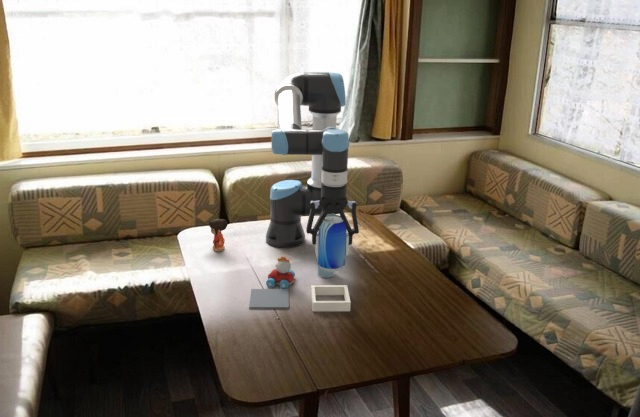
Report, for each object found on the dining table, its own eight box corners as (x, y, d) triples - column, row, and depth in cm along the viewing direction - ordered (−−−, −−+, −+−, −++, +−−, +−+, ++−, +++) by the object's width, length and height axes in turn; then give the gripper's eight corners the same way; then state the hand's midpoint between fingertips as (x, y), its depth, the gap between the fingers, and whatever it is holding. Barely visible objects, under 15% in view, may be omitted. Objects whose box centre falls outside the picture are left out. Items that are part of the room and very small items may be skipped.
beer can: (331, 258, 196) (332, 211, 190) (350, 267, 190) (352, 219, 185) (311, 266, 190) (312, 217, 185) (331, 275, 185) (333, 225, 179)
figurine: (219, 244, 235) (218, 214, 231) (229, 247, 232) (229, 217, 228) (207, 249, 230) (205, 219, 226) (217, 253, 227) (216, 222, 223)
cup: (341, 277, 211) (342, 249, 207) (320, 280, 208) (321, 252, 205) (331, 268, 218) (332, 240, 214) (311, 271, 215) (312, 244, 211)
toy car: (272, 275, 211) (272, 248, 208) (297, 278, 209) (297, 251, 206) (263, 287, 203) (263, 259, 200) (289, 290, 201) (289, 263, 198)
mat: (251, 290, 200) (251, 288, 200) (288, 290, 201) (288, 288, 201) (249, 308, 189) (249, 307, 189) (288, 308, 190) (288, 306, 189)
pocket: (311, 293, 199) (311, 285, 198) (346, 293, 200) (347, 285, 199) (312, 311, 188) (312, 302, 187) (350, 311, 189) (350, 302, 188)
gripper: (298, 187, 177) (297, 259, 185) (371, 187, 178) (367, 259, 186) (297, 179, 184) (296, 248, 192) (368, 179, 185) (364, 249, 193)
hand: (331, 253), depth 189 cm, fingers closed on beer can, 8 cm apart
